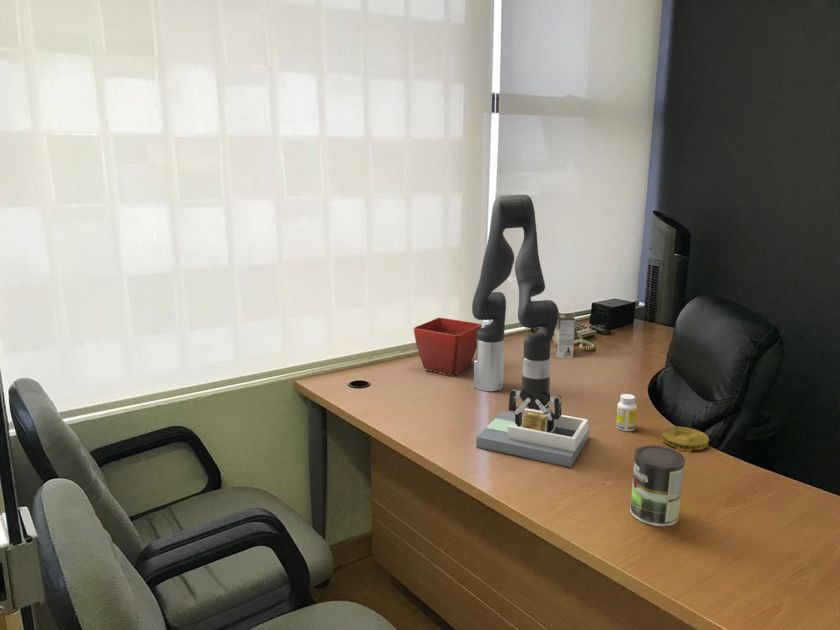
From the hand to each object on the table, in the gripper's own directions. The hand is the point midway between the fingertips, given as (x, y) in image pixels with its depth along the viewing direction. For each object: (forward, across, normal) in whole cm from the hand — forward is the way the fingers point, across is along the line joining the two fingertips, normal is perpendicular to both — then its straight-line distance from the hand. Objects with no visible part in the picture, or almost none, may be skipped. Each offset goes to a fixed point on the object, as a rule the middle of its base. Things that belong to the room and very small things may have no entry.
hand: (534, 428), depth 174 cm
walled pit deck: (+4, 0, 0) cm, 4 cm away
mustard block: (+1, 0, 0) cm, 1 cm away
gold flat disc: (+5, +37, +19) cm, 42 cm away
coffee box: (+4, -14, +82) cm, 83 cm away
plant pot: (+4, -48, +46) cm, 67 cm away
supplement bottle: (+4, +21, +21) cm, 30 cm away
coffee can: (+4, +35, -23) cm, 42 cm away
